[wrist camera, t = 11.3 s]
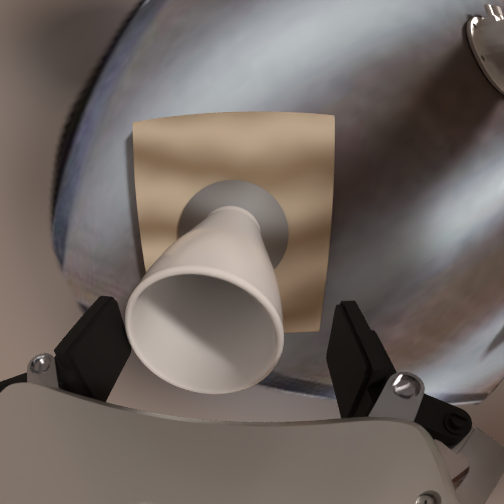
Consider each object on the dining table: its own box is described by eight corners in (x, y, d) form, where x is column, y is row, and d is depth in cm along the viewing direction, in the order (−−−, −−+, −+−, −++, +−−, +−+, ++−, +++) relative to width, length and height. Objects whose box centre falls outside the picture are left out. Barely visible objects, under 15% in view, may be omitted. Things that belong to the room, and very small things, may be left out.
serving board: (139, 123, 22) (131, 122, 20) (329, 117, 22) (335, 115, 20) (161, 323, 30) (157, 332, 28) (316, 323, 30) (319, 332, 28)
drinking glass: (251, 183, 23) (244, 234, 9) (280, 253, 25) (307, 375, 11) (181, 214, 24) (93, 298, 10) (213, 278, 26) (175, 405, 12)
